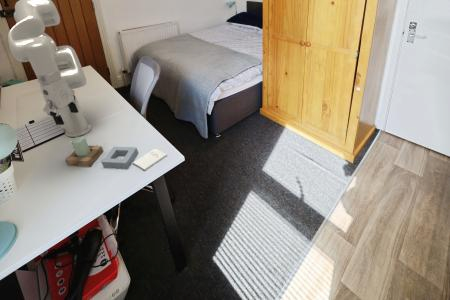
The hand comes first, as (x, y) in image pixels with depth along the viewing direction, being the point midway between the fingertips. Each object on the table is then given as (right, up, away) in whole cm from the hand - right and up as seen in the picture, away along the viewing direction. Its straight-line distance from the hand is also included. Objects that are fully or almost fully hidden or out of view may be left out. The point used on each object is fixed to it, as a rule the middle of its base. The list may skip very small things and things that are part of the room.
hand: (68, 118), depth 112 cm
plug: (+1, -17, +12) cm, 21 cm away
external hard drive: (+31, -18, +9) cm, 37 cm away
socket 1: (+1, -17, +12) cm, 21 cm away
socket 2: (+18, -17, +10) cm, 27 cm away
